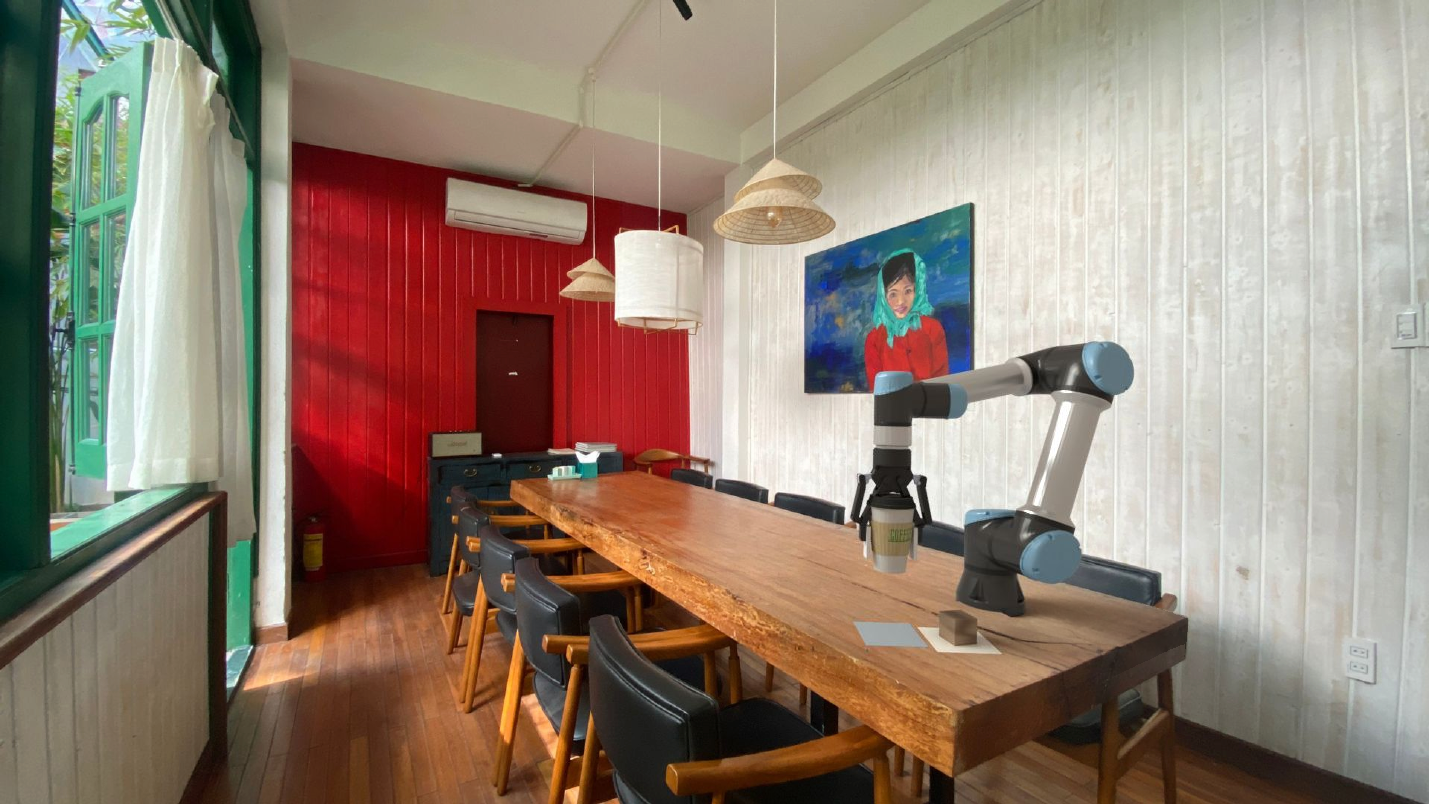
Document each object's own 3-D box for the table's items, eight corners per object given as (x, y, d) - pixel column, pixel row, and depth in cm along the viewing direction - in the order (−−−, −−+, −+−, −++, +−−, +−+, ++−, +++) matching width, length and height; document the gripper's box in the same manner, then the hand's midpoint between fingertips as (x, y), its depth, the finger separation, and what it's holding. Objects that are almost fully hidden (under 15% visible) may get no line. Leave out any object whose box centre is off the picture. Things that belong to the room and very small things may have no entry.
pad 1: (909, 628, 122) (909, 623, 122) (928, 652, 110) (928, 647, 110) (853, 626, 122) (853, 621, 122) (866, 650, 110) (866, 645, 110)
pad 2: (975, 633, 119) (975, 629, 119) (1002, 659, 107) (1002, 654, 107) (917, 631, 120) (917, 627, 120) (937, 657, 108) (937, 651, 108)
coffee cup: (918, 578, 110) (920, 501, 110) (866, 574, 112) (867, 498, 112) (911, 564, 120) (913, 493, 120) (863, 561, 122) (864, 491, 122)
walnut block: (960, 634, 116) (960, 609, 116) (976, 644, 111) (977, 618, 112) (938, 635, 115) (939, 611, 115) (954, 646, 110) (954, 620, 110)
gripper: (938, 447, 119) (936, 554, 119) (836, 444, 120) (833, 551, 120) (952, 449, 112) (950, 564, 112) (842, 447, 113) (840, 561, 112)
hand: (890, 557), depth 116 cm, fingers closed on coffee cup, 9 cm apart
